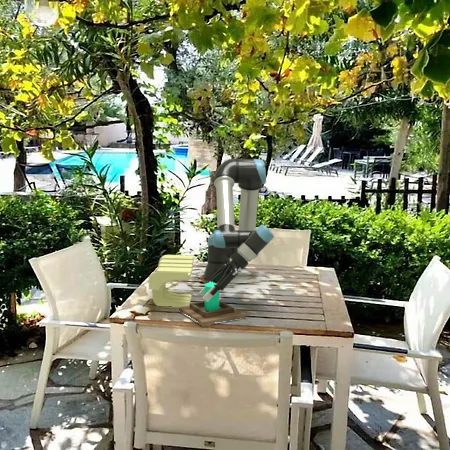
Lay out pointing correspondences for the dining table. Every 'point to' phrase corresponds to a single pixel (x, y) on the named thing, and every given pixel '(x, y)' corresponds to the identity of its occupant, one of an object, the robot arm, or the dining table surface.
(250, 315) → the dining table surface
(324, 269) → the dining table surface
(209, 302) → the candle
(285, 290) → the dining table surface
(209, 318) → the brown square tray
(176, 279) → the slatted curved stool
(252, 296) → the dining table surface
